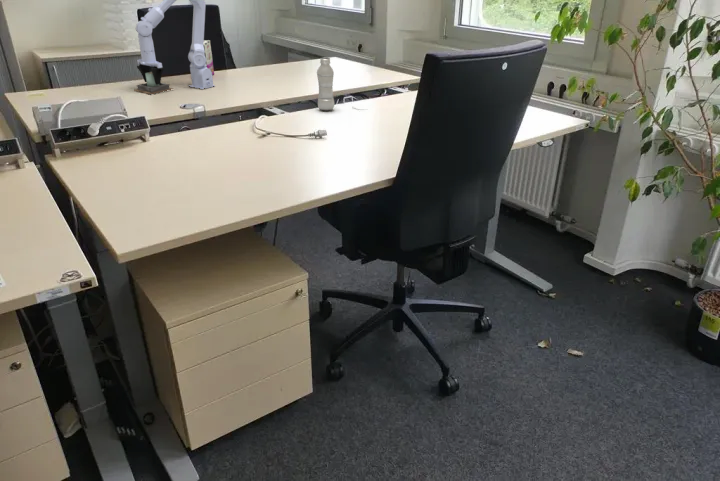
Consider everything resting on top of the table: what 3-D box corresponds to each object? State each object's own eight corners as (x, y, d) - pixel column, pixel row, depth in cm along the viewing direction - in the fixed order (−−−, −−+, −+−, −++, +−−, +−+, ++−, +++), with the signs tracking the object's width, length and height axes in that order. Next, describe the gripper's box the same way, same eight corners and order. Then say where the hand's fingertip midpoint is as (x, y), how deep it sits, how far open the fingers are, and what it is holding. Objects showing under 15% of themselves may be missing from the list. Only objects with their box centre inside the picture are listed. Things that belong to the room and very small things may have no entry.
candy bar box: (204, 74, 274) (200, 40, 266) (214, 74, 274) (210, 40, 266) (198, 79, 264) (194, 43, 257) (208, 79, 264) (204, 43, 257)
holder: (173, 90, 244) (172, 84, 243) (151, 95, 235) (150, 89, 234) (156, 86, 250) (155, 80, 249) (134, 91, 241) (133, 85, 240)
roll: (162, 88, 243) (160, 72, 240) (153, 91, 239) (150, 74, 236) (154, 87, 246) (152, 71, 242) (145, 89, 242) (142, 73, 238)
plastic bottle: (332, 112, 215) (331, 60, 205) (315, 111, 216) (314, 59, 206) (336, 108, 220) (335, 57, 211) (320, 107, 221) (319, 56, 212)
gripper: (129, 50, 235) (134, 82, 242) (150, 53, 228) (155, 86, 235) (143, 48, 240) (148, 79, 247) (164, 51, 233) (169, 83, 240)
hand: (152, 82), depth 241 cm, fingers open, 7 cm apart
